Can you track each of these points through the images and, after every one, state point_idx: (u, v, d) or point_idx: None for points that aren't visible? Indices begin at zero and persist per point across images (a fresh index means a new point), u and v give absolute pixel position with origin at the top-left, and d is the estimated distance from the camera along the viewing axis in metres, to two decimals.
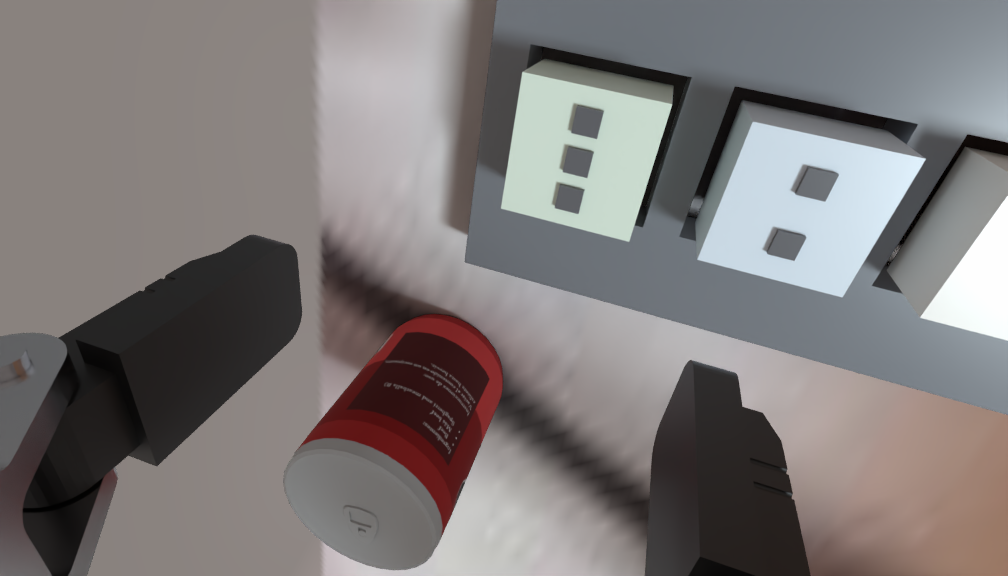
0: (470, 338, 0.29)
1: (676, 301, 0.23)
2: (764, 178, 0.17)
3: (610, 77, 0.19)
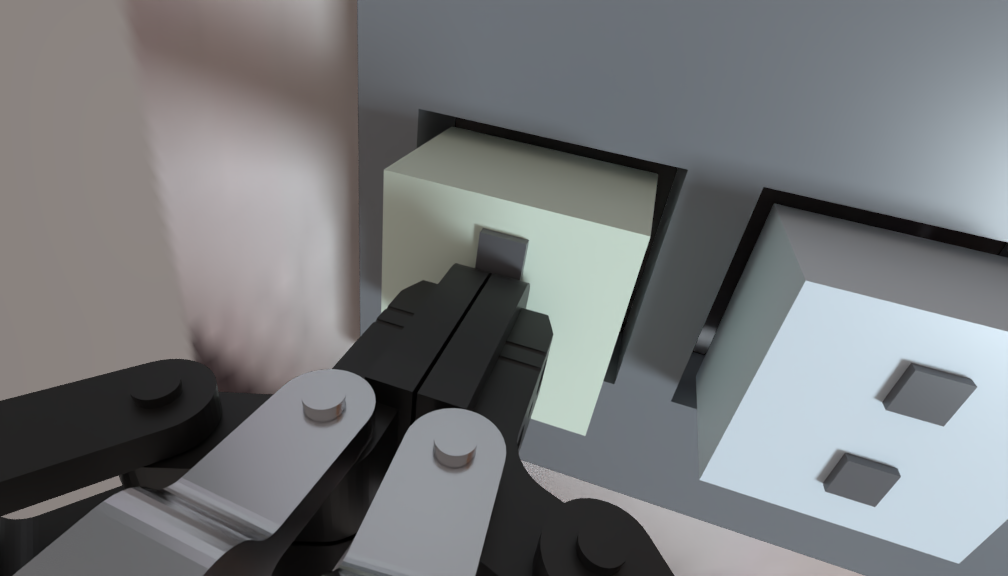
0: None
1: (668, 484, 0.15)
2: (824, 374, 0.09)
3: (551, 164, 0.11)
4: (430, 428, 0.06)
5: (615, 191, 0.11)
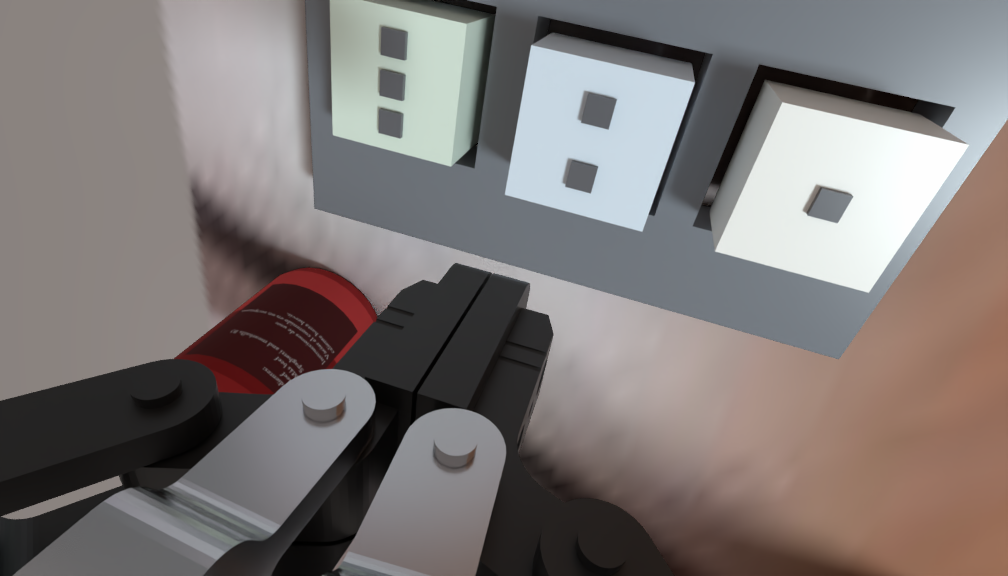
0: (339, 290, 0.29)
1: (516, 246, 0.23)
2: (551, 106, 0.17)
3: (430, 4, 0.20)
4: (430, 428, 0.06)
5: (461, 14, 0.19)
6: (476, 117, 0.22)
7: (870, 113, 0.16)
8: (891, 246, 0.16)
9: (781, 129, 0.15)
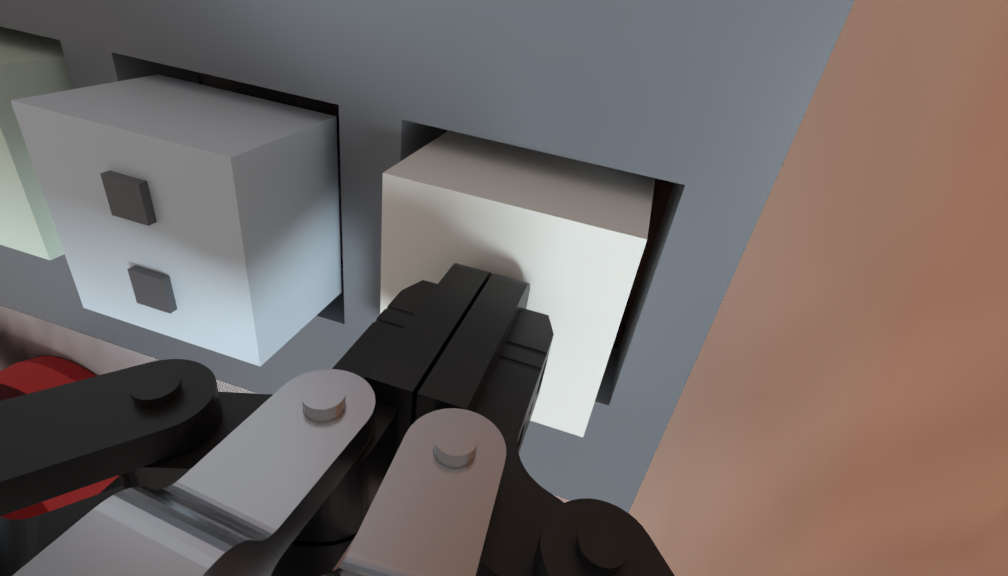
0: None
1: (204, 353, 0.17)
2: (76, 189, 0.11)
3: (13, 38, 0.14)
4: (430, 428, 0.06)
5: (30, 51, 0.13)
6: None
7: (544, 183, 0.11)
8: (591, 378, 0.11)
9: (395, 211, 0.10)
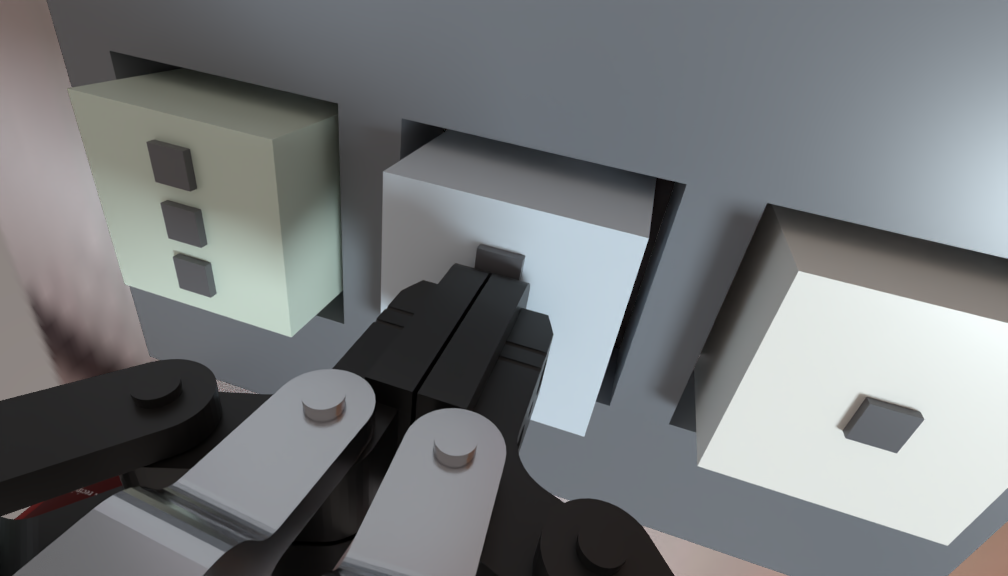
0: None
1: None
2: (426, 259, 0.11)
3: (255, 94, 0.13)
4: (430, 428, 0.06)
5: (291, 112, 0.12)
6: None
7: (947, 274, 0.09)
8: (989, 490, 0.10)
9: (798, 310, 0.09)
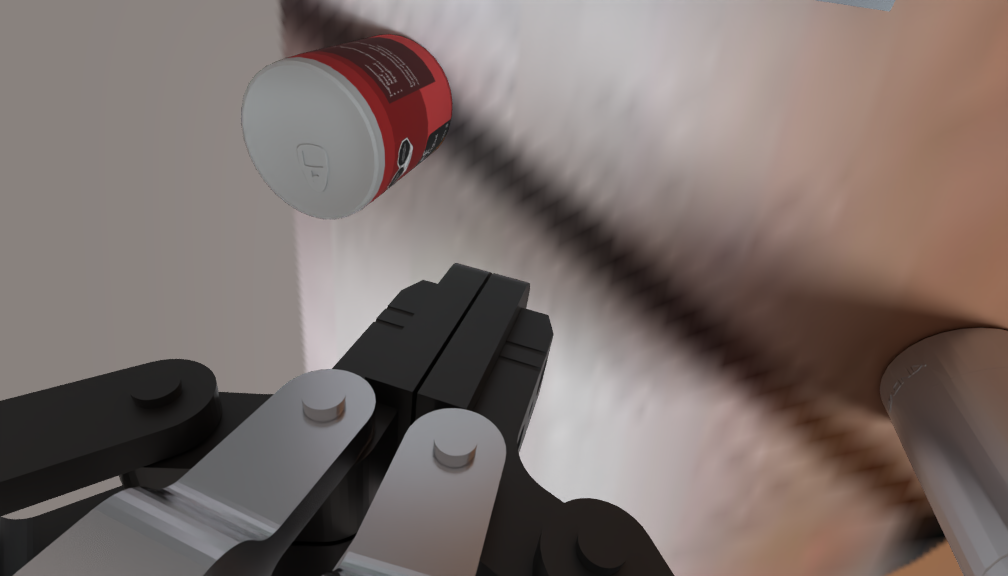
0: (417, 47, 0.32)
1: None
2: None
3: None
4: (430, 428, 0.06)
5: None
6: None
7: None
8: None
9: None
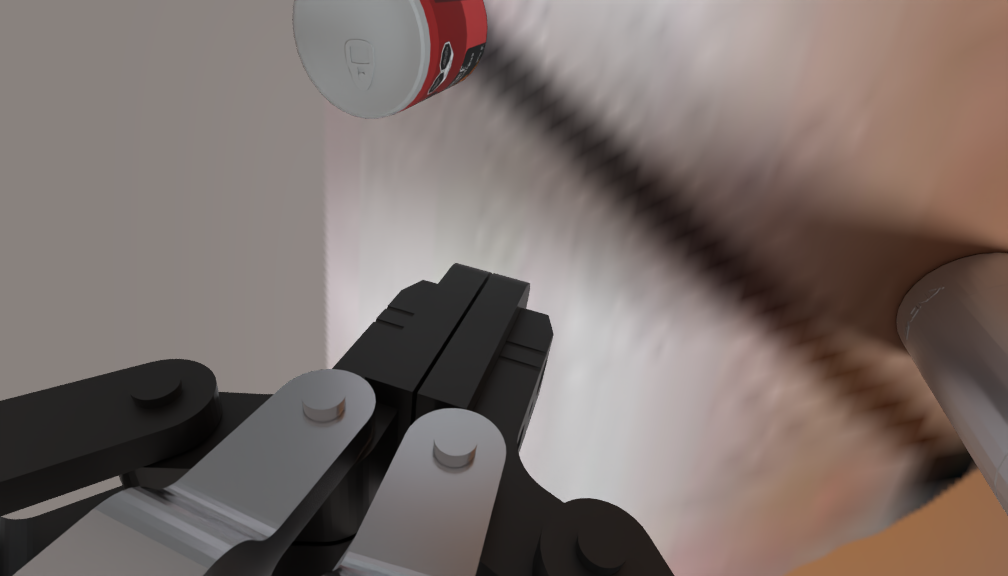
0: None
1: None
2: None
3: None
4: (430, 428, 0.06)
5: None
6: None
7: None
8: None
9: None
